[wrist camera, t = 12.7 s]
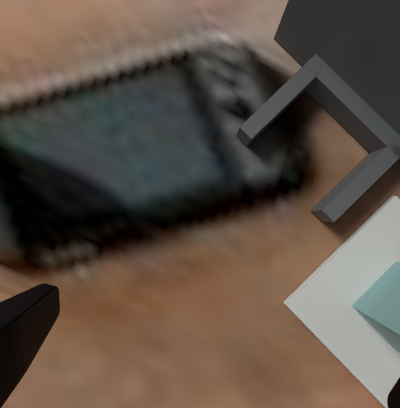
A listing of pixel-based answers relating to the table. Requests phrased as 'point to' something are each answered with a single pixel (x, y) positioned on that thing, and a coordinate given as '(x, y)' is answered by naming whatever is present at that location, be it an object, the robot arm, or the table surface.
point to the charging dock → (343, 83)
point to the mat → (354, 300)
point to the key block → (383, 306)
